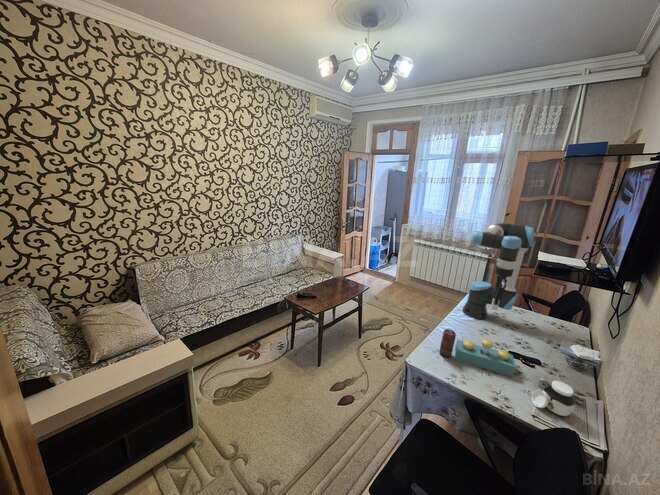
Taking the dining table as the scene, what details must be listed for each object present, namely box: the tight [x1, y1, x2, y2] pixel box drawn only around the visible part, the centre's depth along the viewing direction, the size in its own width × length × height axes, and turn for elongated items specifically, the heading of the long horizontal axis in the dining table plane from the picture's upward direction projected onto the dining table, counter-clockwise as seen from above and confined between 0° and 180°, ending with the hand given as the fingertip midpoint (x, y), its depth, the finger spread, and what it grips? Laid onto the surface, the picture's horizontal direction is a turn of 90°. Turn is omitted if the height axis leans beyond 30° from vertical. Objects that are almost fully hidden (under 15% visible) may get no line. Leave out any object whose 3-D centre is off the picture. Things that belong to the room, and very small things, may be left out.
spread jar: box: [530, 380, 576, 417], centre depth 112 cm, size 12×11×12 cm
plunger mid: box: [481, 338, 494, 355], centre depth 136 cm, size 5×5×8 cm
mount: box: [454, 339, 517, 378], centre depth 138 cm, size 10×26×6 cm, turn 65°
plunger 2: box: [497, 349, 511, 361], centre depth 134 cm, size 5×5×8 cm
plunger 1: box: [463, 339, 475, 350], centre depth 140 cm, size 5×5×8 cm
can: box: [438, 328, 457, 359], centre depth 141 cm, size 6×6×14 cm
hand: (493, 309), depth 139 cm, fingers closed
